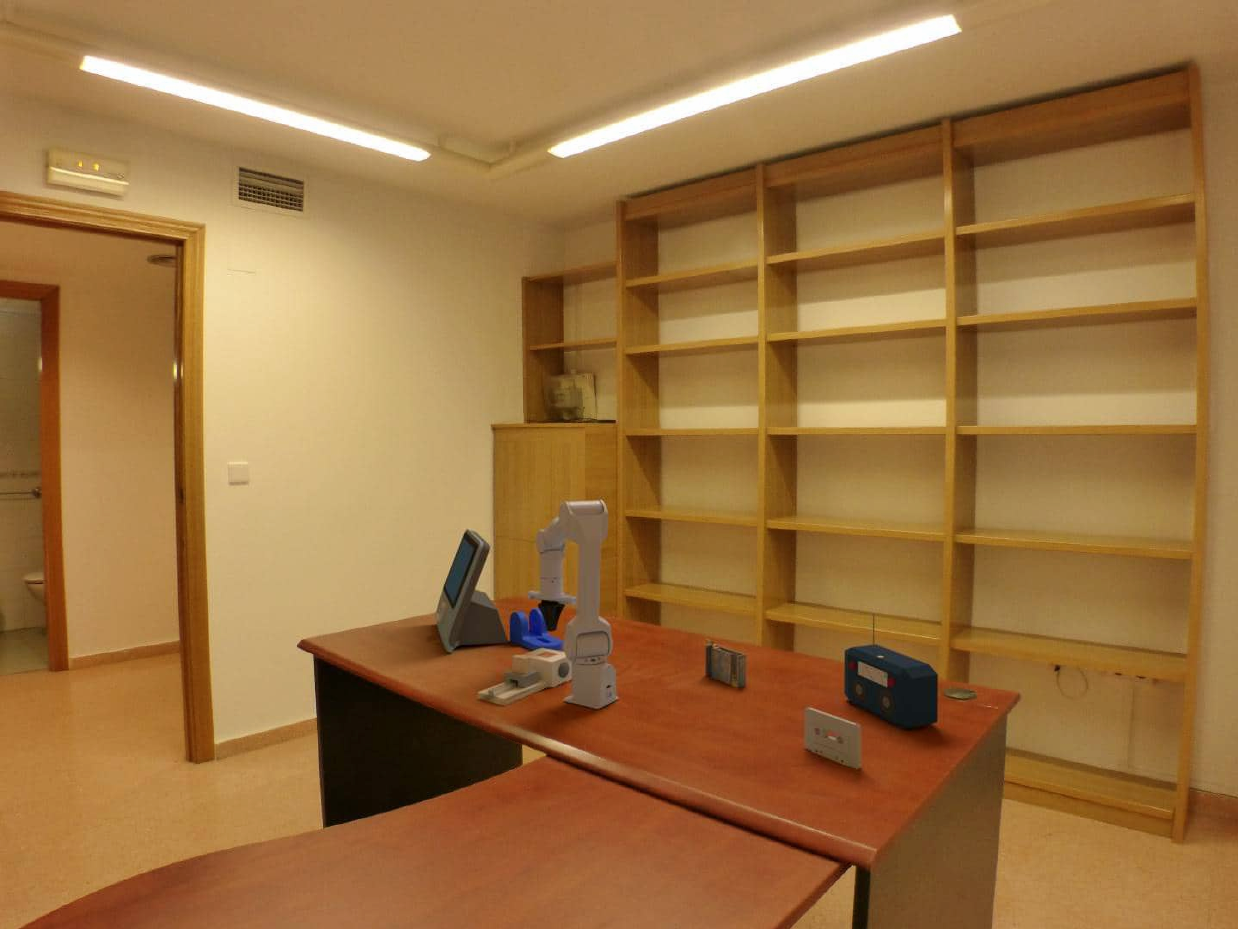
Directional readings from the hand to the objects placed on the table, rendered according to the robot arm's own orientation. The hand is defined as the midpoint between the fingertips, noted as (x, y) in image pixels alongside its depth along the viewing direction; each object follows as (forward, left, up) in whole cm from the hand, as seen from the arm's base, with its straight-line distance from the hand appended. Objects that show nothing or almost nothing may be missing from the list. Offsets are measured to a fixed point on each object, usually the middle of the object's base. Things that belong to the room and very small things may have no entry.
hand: (551, 630), depth 196 cm
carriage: (-5, +17, -8) cm, 19 cm away
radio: (-79, -14, -10) cm, 81 cm away
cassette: (-77, +14, -10) cm, 79 cm away
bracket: (+17, -14, -10) cm, 24 cm away
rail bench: (-5, +20, -9) cm, 22 cm away
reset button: (-5, +8, -6) cm, 11 cm away
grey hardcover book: (-41, -15, -10) cm, 45 cm away
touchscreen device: (+40, -11, -10) cm, 43 cm away
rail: (-5, +19, -8) cm, 22 cm away
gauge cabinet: (-5, +8, -9) cm, 13 cm away
